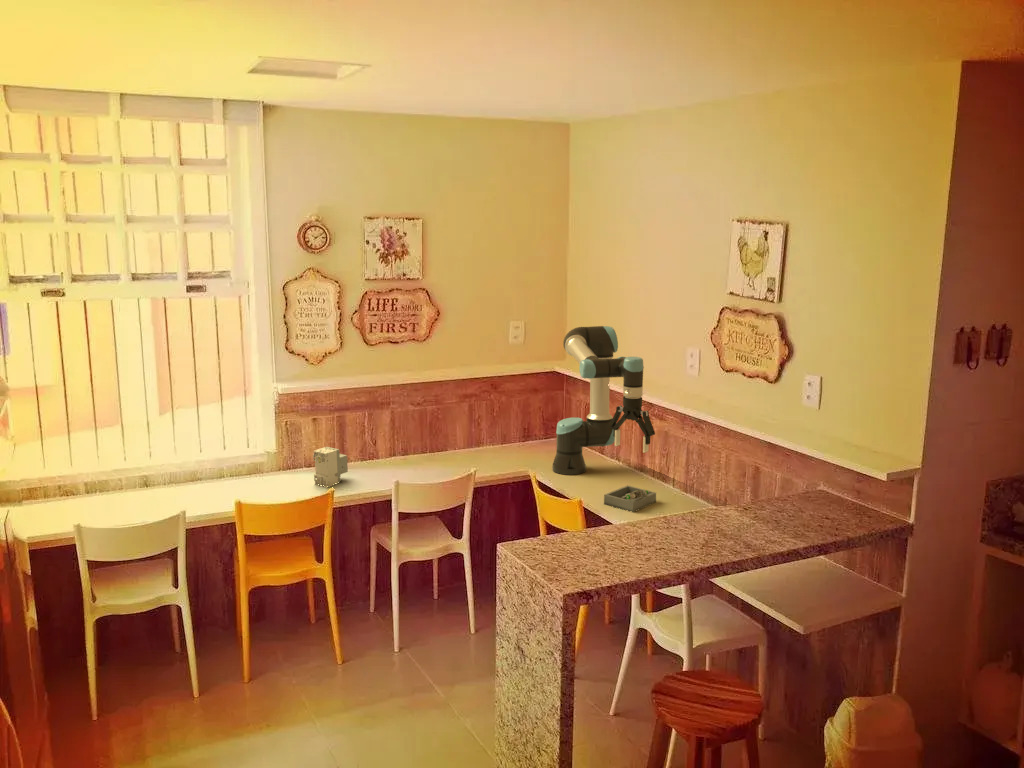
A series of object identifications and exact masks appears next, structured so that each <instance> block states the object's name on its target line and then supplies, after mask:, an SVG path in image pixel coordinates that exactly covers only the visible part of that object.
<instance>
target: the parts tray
mask: <svg viewBox="0 0 1024 768" xmlns="http://www.w3.org/2000/svg"><path fill="white" fill-rule="evenodd" d="M643 489H644V488H640V487H637V486H636V487H635V486H631V485H628V484H627V485H625V486H622V487H619V488H618V489H614V490H612V491H610V492H608V493H605V494H604V496H603V505H605V506H608V507H612V506H613V508H616V507H617V508H616V509H619V508H620V510H623V509H624V511H626V510H628V511H627V512H630V511H632V512H631V513H635V512H637V511H639V510H641V508H642V509H644V508H646V507H648V506H651V505H652V503H653V504H655V503H657V492H655V491H651V490H647V489H646V490H647V491H648V494H647V495H646V496H644V497H641V498H637V499H632V500H626V499H622V497H623V496H626V495H625V494H628V493H631V492H634V491H638V490H639V491H640V490H643ZM650 504H651V505H650ZM645 506H646V507H645ZM643 507H644V508H643ZM638 509H639V510H638ZM636 510H637V511H636ZM634 511H635V512H634Z"/></svg>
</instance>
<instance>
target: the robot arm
mask: <svg viewBox="0 0 1024 768" xmlns="http://www.w3.org/2000/svg"><path fill="white" fill-rule="evenodd" d="M562 342H563V343H562V344H563V348H564V350H565V351H566V353H567V355H569V356H571V357H573V358H574V359H575V361H576V362H577V363H578V365H579V368H578V369H579V375H580V377H581V378H582V379H589V381H590V382H589V384H590V385H589V389H590V390H589V392H590V393H589V395H590V396H589V413H588V414H587V416H586V420H585V421H584V420H583V418H581V417H567V418H564V419H561V420H559V421H558V422H557V424H556V431H555V433H556V446H555V447H556V448H555V449H556V454H555V457H554V459H553V463H552V469H551V470H552V472H554V473H557V474H559V473H560V474H559V475H567V476H568V475H570V476H572V475H573V476H574V475H575V476H576V475H581V474H583V473H585V472H587V465H586V462H585V458H584V455H583V448H592V447H593V448H594V447H595V448H596V447H608V446H611V445H613V444H614V447H618V446H620V445H621V429H620V427H621V426H622V425H623V424H624V423H625V422H626V420H631V421H633V422H635V423H636V424H638V426H639V428H640V430H641V431H642V433H643V435H644V436H642V439H643V440H642V453H644V454H645V453H648V452H649V447H650V446H649V445H650V444H651V437H652V436H655V435H656V432H655V429H654V425H653V424H652V421H651V418H650V414H649V412H650V411H649V410H642V408H643V393H644V392H643V387H644V385H643V383H644V368H645V367H644V359H643V358H642V357H640V356H619V357H617V358H614V353H617V352H618V349H619V341H618V336H617V333H616V330H615V329H614V328H613V327H612V326H608V325H607V326H604V325H598V326H578V327H575V328H573V329H570V331H568V332H567V333H566V335H565V336H564V339H563V341H562ZM610 378H623V385H622V386H623V387H622V389H623V390H622V394H623V395H622V396H623V397H622V405H618V406H616V408H615V412H614V415H611V414H610V385H609V386H608V384H609V382H610ZM622 413H623V415H622V416H621V414H622ZM620 416H621V418H620Z"/></svg>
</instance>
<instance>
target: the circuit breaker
mask: <svg viewBox="0 0 1024 768" xmlns="http://www.w3.org/2000/svg"><path fill="white" fill-rule="evenodd" d="M312 460H313V461H314V467H315V471H314V472H315V473H314V474H313V480H314V485H315V484H316V485H315V486H318V484H319V485H322V486H323V485H324V486H326V487H327V486H331V487H333V486H334V485H333V484H335V483H338V482H340V481H341V482H342V480H341V476H342V475H343V474H346V473H348V472H349V471H348V467H349V466H348V463H349V460H348V455H347V454H344V453H343V454H342V453H340V449H339V448H334V447H331V446H325V447H320V448H318V449H315V450H313V454H312ZM332 485H333V486H332ZM322 486H321V487H322ZM326 487H325V488H326Z"/></svg>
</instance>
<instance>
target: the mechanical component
mask: <svg viewBox="0 0 1024 768" xmlns="http://www.w3.org/2000/svg"><path fill="white" fill-rule="evenodd" d="M642 489H643V490H640V491H639V490H638V491H634V492H631V493H628V494H625V495H626V496H623V497H622V499H626V500H632V499H637V498H641V497H644V496H646V495H647V494H648V491H649V490H648V491H647V489H644V488H642Z"/></svg>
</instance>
